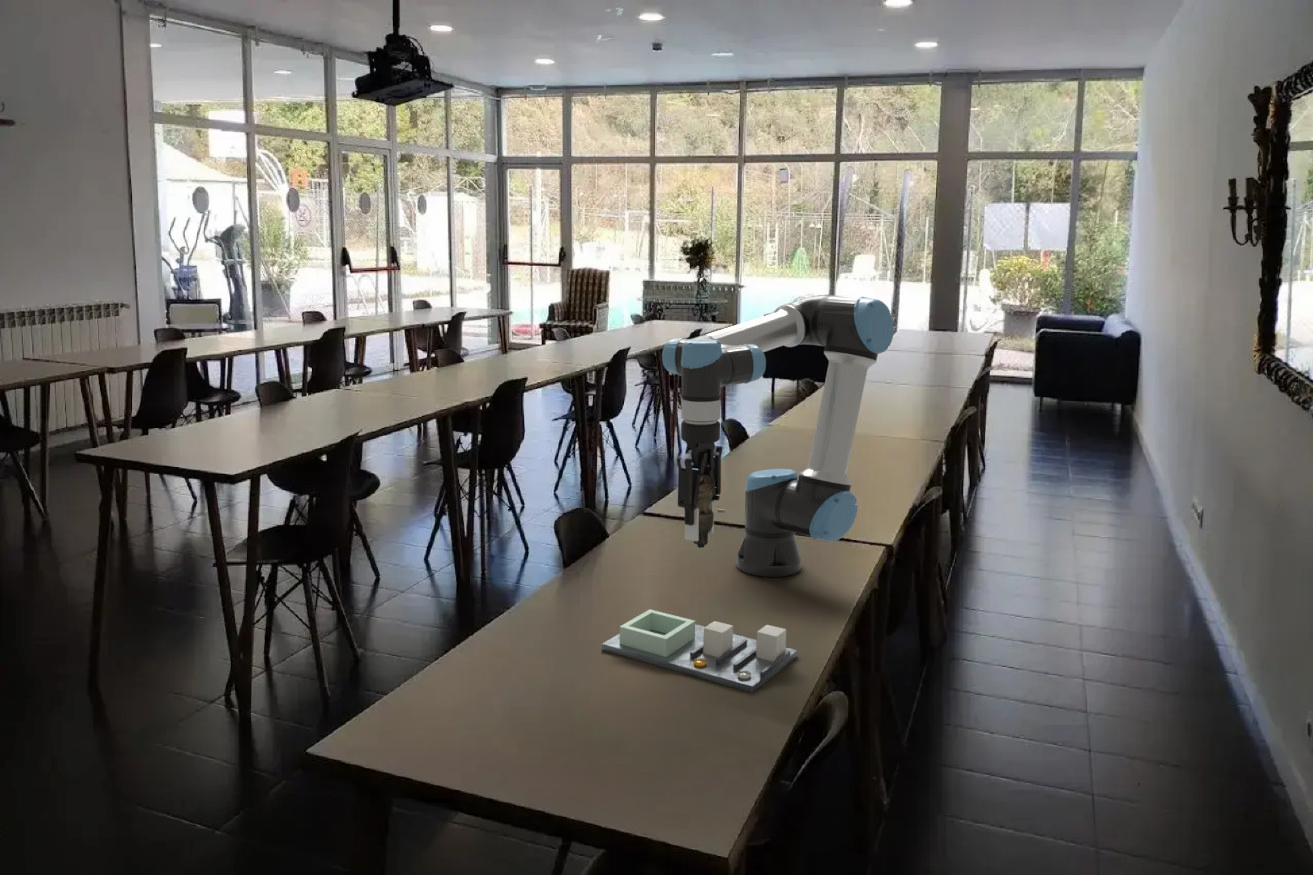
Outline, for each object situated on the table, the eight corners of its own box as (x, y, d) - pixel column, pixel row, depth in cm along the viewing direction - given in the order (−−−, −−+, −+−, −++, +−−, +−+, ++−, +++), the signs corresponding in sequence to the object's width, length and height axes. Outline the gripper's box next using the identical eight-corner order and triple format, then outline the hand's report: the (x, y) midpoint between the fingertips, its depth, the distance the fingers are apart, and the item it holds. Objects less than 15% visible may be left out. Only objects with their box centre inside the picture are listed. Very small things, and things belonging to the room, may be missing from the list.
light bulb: (689, 552, 198) (689, 478, 195) (681, 543, 203) (681, 471, 200) (717, 549, 200) (717, 476, 196) (708, 541, 205) (708, 468, 201)
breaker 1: (713, 645, 192) (714, 621, 191) (732, 650, 190) (733, 625, 189) (703, 653, 189) (703, 628, 188) (722, 658, 187) (722, 632, 186)
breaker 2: (766, 649, 191) (766, 624, 190) (785, 654, 189) (786, 629, 188) (756, 657, 188) (756, 631, 187) (775, 662, 186) (776, 636, 185)
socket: (649, 626, 201) (649, 609, 201) (694, 637, 196) (695, 620, 195) (619, 643, 193) (619, 626, 192) (666, 656, 187) (666, 639, 187)
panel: (653, 619, 208) (653, 609, 208) (796, 656, 191) (797, 645, 191) (602, 649, 193) (602, 638, 193) (752, 692, 176) (752, 681, 176)
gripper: (707, 410, 205) (706, 521, 210) (658, 426, 190) (658, 544, 196) (740, 414, 201) (738, 527, 207) (693, 431, 186) (691, 552, 192)
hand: (699, 535), depth 201 cm, fingers closed on light bulb, 5 cm apart
